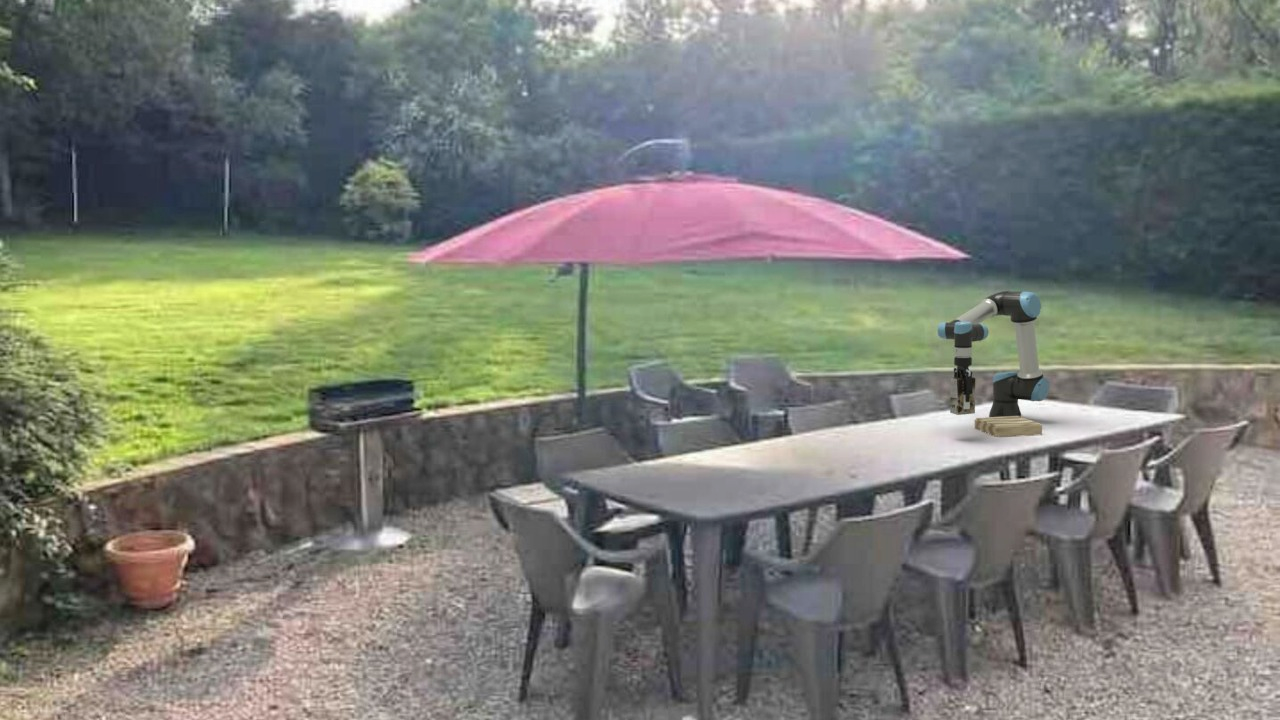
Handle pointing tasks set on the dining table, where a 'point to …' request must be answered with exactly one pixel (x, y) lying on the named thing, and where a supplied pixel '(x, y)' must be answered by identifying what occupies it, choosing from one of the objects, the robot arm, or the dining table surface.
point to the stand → (1008, 426)
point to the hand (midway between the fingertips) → (962, 407)
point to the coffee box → (960, 397)
